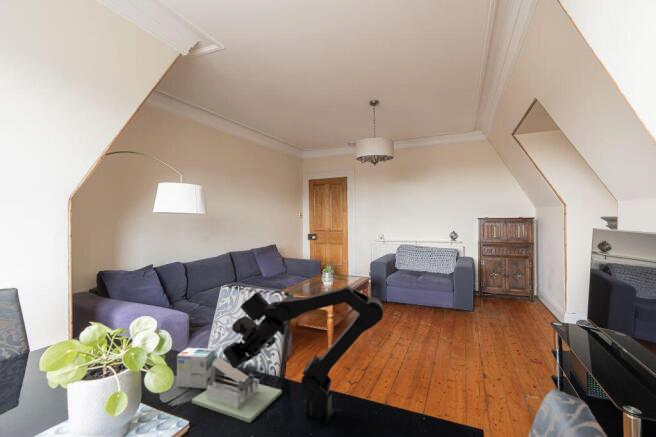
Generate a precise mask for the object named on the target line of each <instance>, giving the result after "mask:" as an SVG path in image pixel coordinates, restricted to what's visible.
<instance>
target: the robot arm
mask: <svg viewBox="0 0 656 437" xmlns="http://www.w3.org/2000/svg"><path fill="white" fill-rule="evenodd" d="M339 304H346V305H348V306H349V307H350V308H351V309H353V310H354V311H355V312H356V315H355V317H354V319H353V320H352V322H351V323H350V324H349V325H348V326H347V327H346V328H345V329H344V331H343V332H341V334H340V335H339V336H338V338H336V340H335V341H334V342H333V343H332V345H331V346H330V347H329V348H328V349H327V350H326V351H325V352H324V354H322V355H321V356H318V355H317V354H314V355H313V357H312V358H311V360H309V362H307V363H306V365H305V367H304V369H303V371H302V372H301V374H302V377H301V379H300V380H301V382H300V383H301V387H302V389H304V391H305V392H306V396H307V397H306V398H305V402H306V403H305V405H306V406H305V415H304V419H305V420H310V421H312V422H317V423H319V424H323V425H327V423H328V420H330V418H331V416H332V415H333V414H334V412H335V410H334V409H333V408H332V407H333V406H332V403H333V402H332V401H333V400H332V399H333V398H332V396H333V395H332V394H333V393H332V392H330V388H331V385H332V379H331V377H330V376H329V373H330V371H331V369H332V368H333V367H334V366H335V365H336V364H337V362H338V361H339V360H340V359H341V358H342V357H343V355H344V354H345V353H346V352H347V351H348V350H349V349H350V348H351V346H353V344H354V343H355V342H356V341H357V340H358V339H359V337H360V336H361V335H362V334H363V333H364V332H366V331H368V330H370V329H371V328H373V327H374V326H376V325H377V324H378V323H379V322H380V321H381V320H382V319H383V317H384V308H383V305H382V302H381V300H379V299H378V298H377V297H373V296H372V297H370V296H368V295H366V294H365V293H362V292H360V291H358V290H356V289H354V288H353V287H351V286H349V285H345V286H343V287H340V288H336V289H332V290H329V291H323V292H320V293H316V294H312V295H309V296H288V297H287V296H286V297H284V298H282V300H281V301H280V300H279V301H273V302H270V303H269V302H268V301H267V300H266V299H265V298H264V297H263V296H262V294H261V293H260V292H259V291H256V292H254V294H253V295H252V296H250V297H249V298H248V299H247V300H245V301H244V302H243V303H242V304H241V305H240V307H239V308H240V309H241V310H242V311H243V312H244V314H245V315H243V316H242V317H239V318H238V319H237V320H235V321H234V323H232V328H231V329H232V331H233V332H234V333H235V334H237V335H239V334H240V335H241V336H242V337H241V340H242V341H239V342H237V341H234V342H233V343H230V344H228V345H227V346H226V347H225V348H223V351H222V354H223V355H224V356H225V359H226V361H227V362H228V363H229V364H230V365H231V366H232V367H233V368H235V369H238V368H239V367H240V366H242V365H244V364H245V362H249V361H250V360H251V359H253V358H254V357H257V356H258V355H260V354H261V352H262V350H264V349H265V347H266V349H269V348H271V347H272V346H274V344H276V337H275V336H276V334H277V333H280V335H281V336H284V335H285V334H286V333H287V332H288V331H289V330H290V329H289V326H288V325H289V324H288V322H290V321H291V320H293V319H295V318H298V317H300V316H301V315H303V314H305V313H308V312H310V311H316V310H319V309H323V308H328V307H331V306H335V305H339ZM263 317H264V318H263ZM262 318H263V319H262ZM261 319H262V320H261ZM260 320H261V321H260ZM256 321H257V322H259V321H260V322H259V323H258V324H257V323H256Z"/></svg>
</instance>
